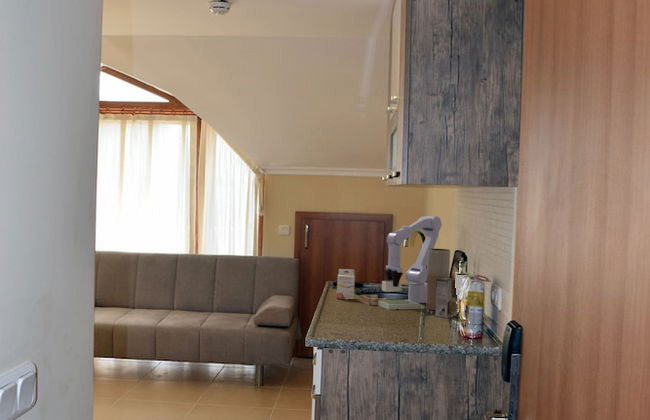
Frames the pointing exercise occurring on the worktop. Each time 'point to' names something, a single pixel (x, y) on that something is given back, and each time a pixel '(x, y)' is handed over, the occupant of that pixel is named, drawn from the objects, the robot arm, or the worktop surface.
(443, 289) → the coffee box
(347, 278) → the ink cartridge box
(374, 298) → the frame
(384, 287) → the block
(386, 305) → the tray
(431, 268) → the tall taupe carton
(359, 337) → the worktop surface
